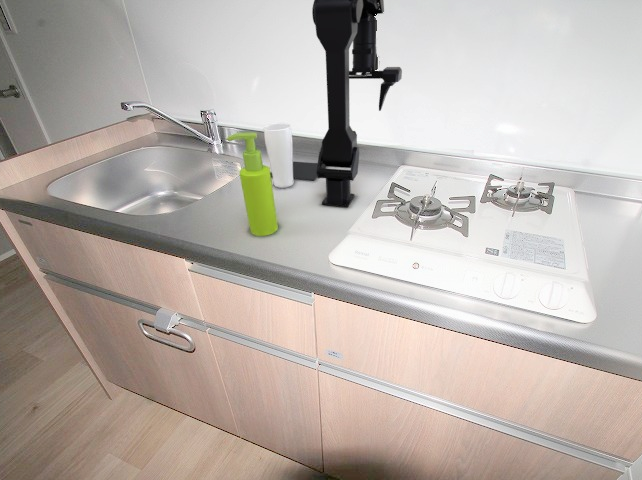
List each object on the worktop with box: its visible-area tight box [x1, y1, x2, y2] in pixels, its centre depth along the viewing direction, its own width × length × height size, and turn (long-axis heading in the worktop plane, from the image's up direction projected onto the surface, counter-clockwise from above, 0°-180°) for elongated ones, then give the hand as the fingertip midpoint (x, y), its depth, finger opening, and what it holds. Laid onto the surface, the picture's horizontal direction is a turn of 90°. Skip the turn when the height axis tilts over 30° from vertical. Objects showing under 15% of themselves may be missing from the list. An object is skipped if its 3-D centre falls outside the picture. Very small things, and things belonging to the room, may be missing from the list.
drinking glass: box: [263, 122, 295, 189], centre depth 92 cm, size 7×7×15 cm
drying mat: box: [270, 161, 328, 182], centre depth 104 cm, size 12×14×1 cm
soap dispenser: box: [226, 131, 279, 237], centre depth 72 cm, size 6×7×20 cm
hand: (363, 110), depth 99 cm, fingers open, 9 cm apart
